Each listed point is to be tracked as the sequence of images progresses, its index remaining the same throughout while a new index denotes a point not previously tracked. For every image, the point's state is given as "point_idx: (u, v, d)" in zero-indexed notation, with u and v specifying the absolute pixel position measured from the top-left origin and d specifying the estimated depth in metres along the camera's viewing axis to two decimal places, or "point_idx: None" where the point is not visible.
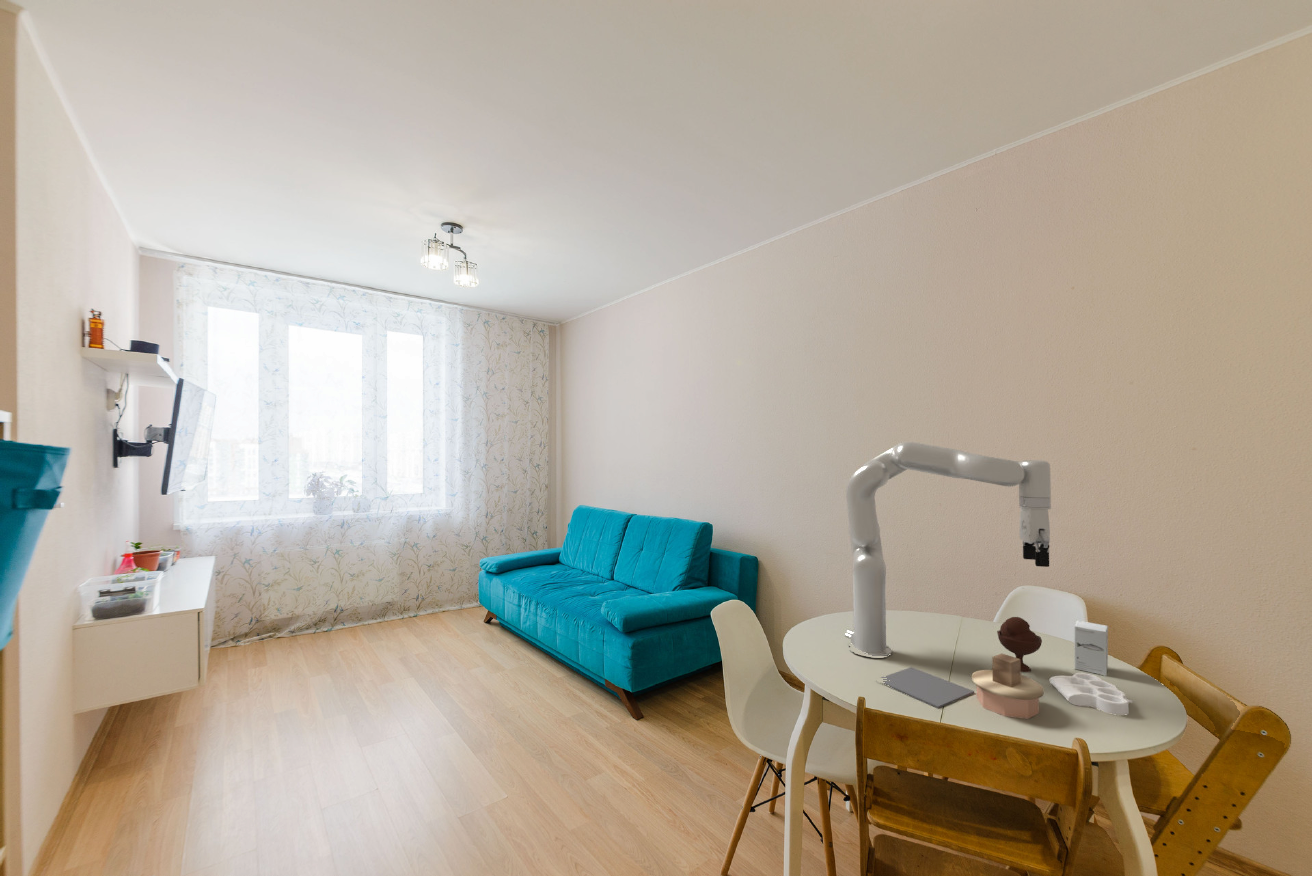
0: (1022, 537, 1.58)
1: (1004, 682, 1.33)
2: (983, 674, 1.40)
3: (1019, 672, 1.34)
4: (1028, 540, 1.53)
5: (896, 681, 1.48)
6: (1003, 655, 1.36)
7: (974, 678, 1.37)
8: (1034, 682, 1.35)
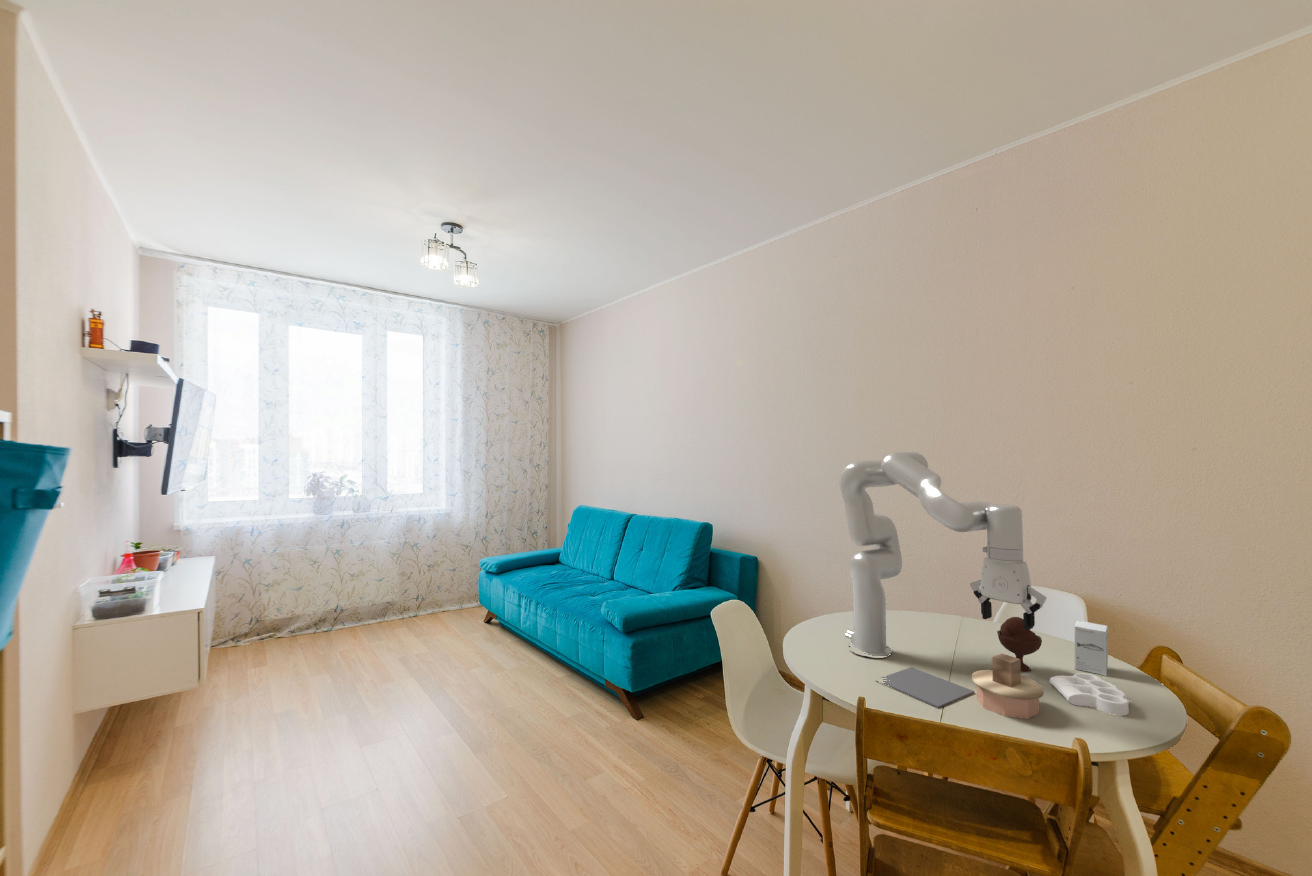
0: (994, 595, 1.34)
1: (1004, 682, 1.33)
2: (983, 674, 1.40)
3: (1019, 672, 1.34)
4: (1015, 600, 1.30)
5: (896, 681, 1.48)
6: (1003, 655, 1.36)
7: (974, 678, 1.37)
8: (1034, 682, 1.35)
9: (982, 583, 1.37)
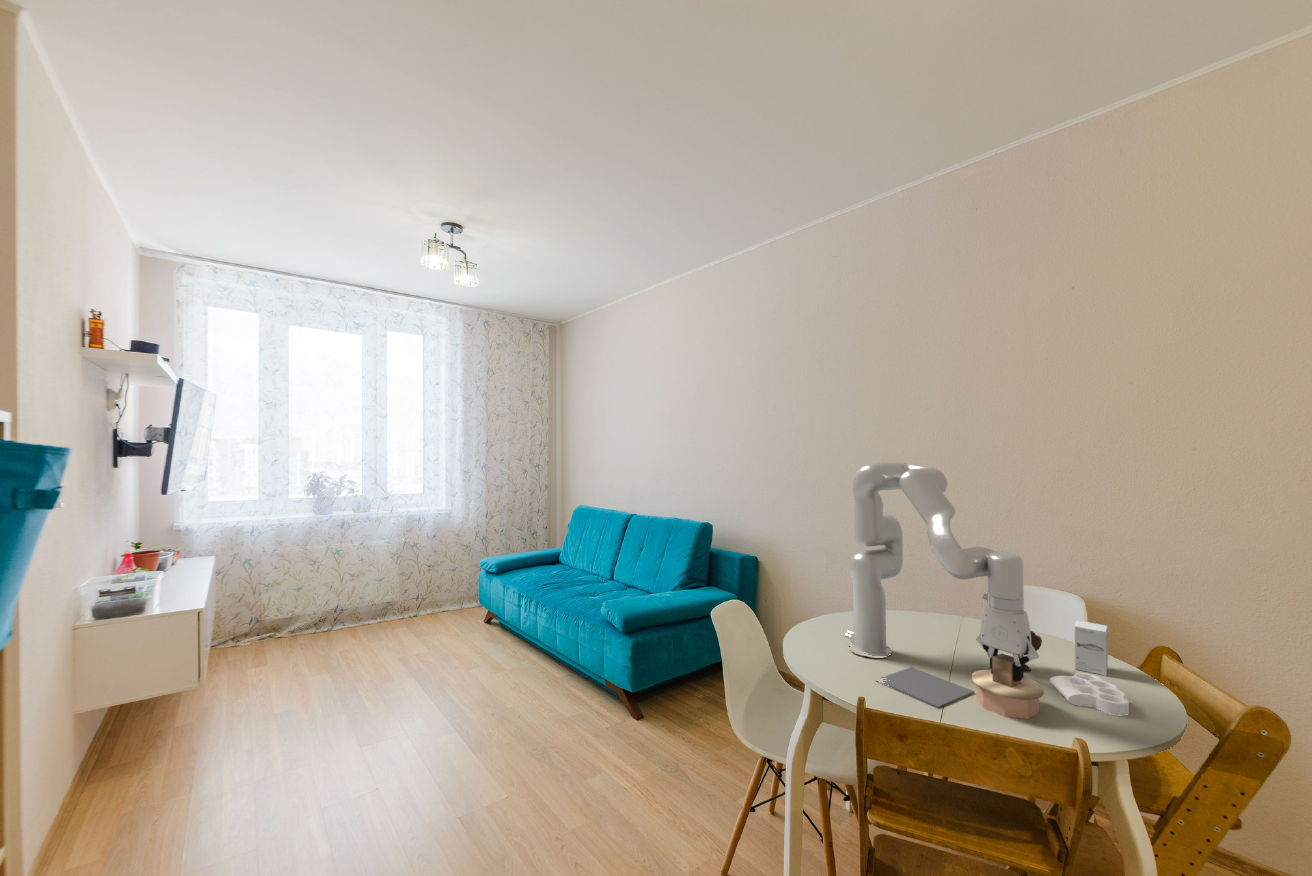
0: (994, 644, 1.35)
1: (1004, 682, 1.33)
2: (983, 674, 1.40)
3: None
4: (1015, 651, 1.30)
5: (896, 681, 1.48)
6: (1003, 655, 1.36)
7: (974, 678, 1.37)
8: (1034, 682, 1.35)
9: (982, 631, 1.37)
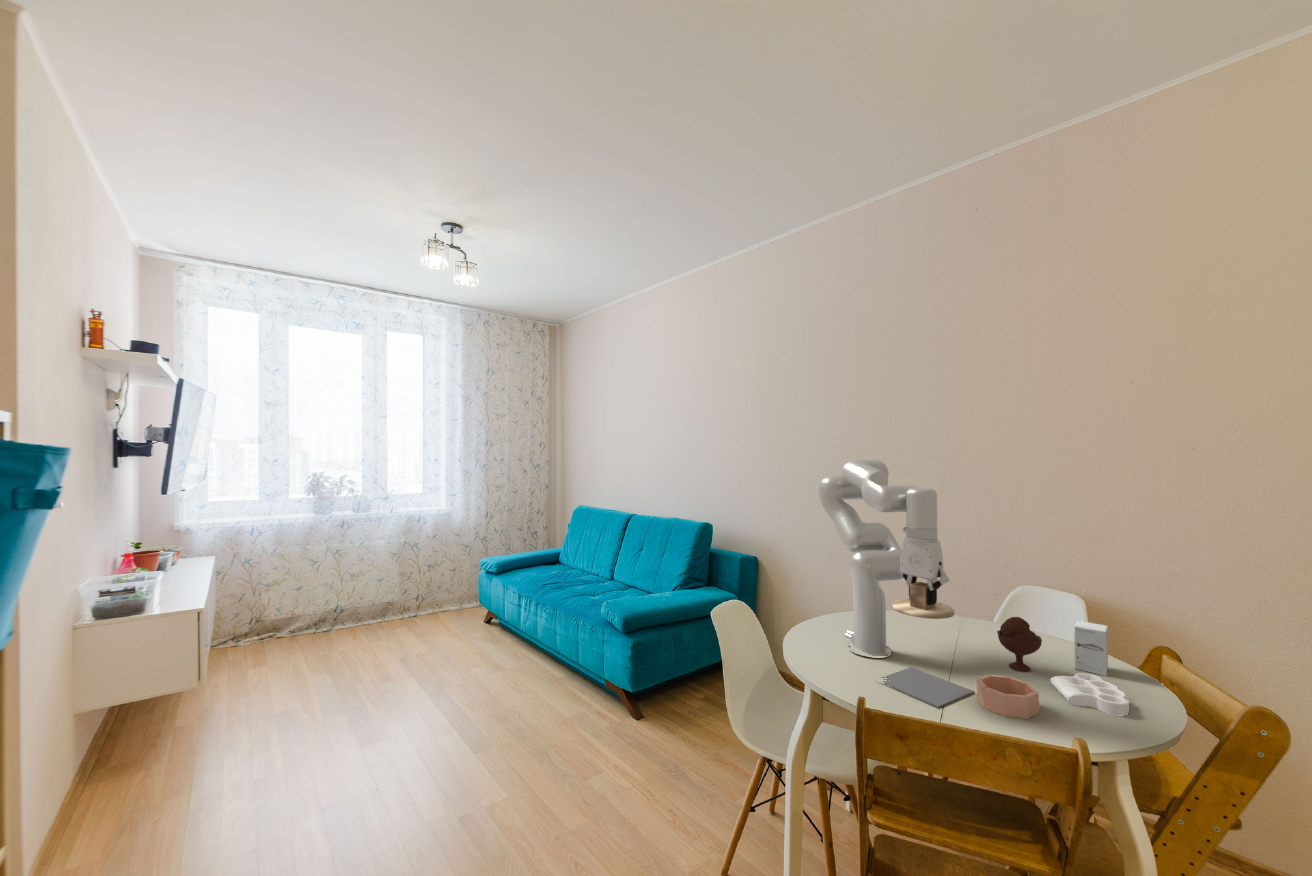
0: (911, 572, 1.45)
1: (919, 606, 1.44)
2: (903, 601, 1.50)
3: None
4: (928, 576, 1.41)
5: (896, 681, 1.48)
6: (920, 582, 1.47)
7: (894, 604, 1.48)
8: (947, 606, 1.45)
9: (901, 560, 1.48)
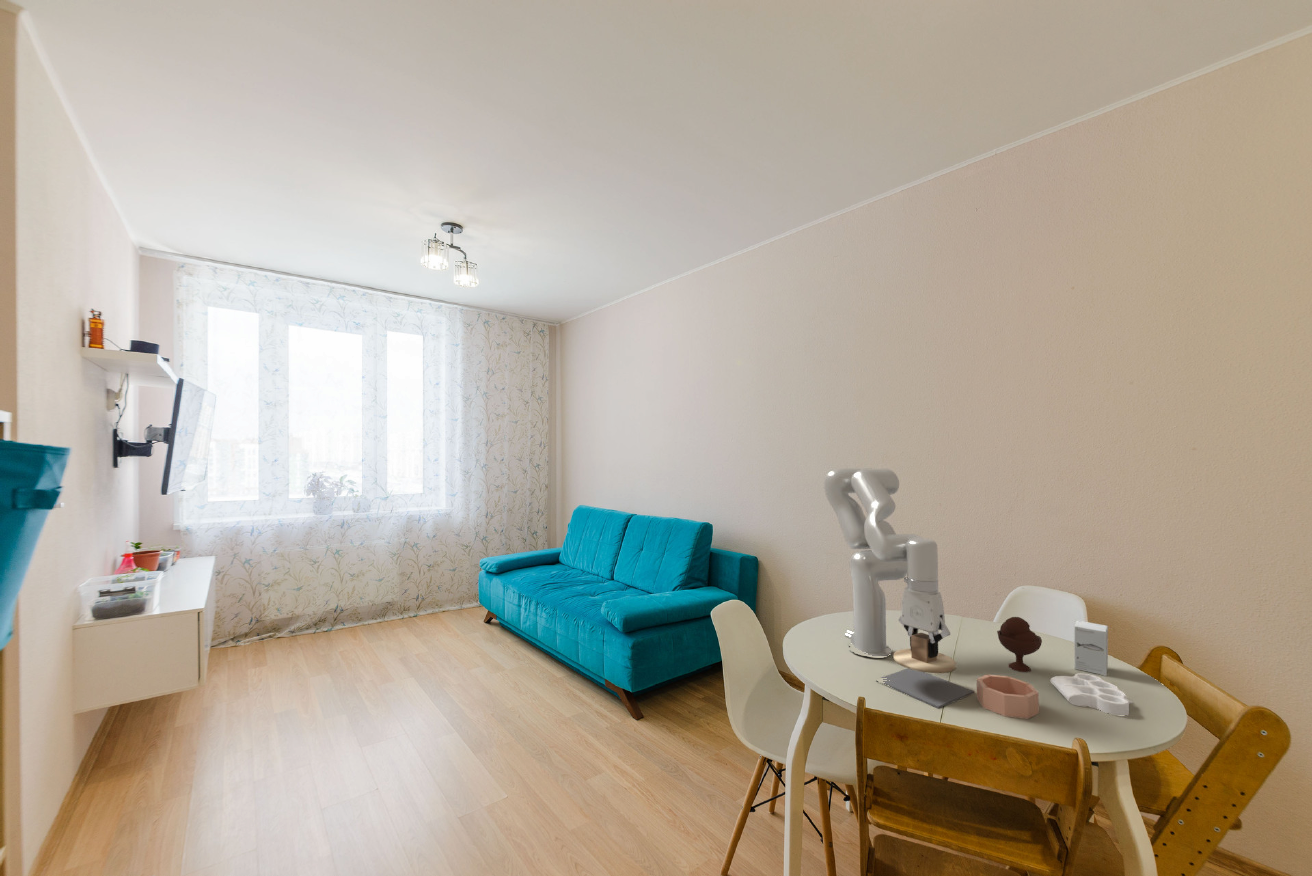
0: (912, 623, 1.45)
1: (921, 658, 1.43)
2: (904, 652, 1.50)
3: None
4: (929, 629, 1.41)
5: (896, 681, 1.48)
6: (921, 634, 1.47)
7: (895, 655, 1.47)
8: (949, 658, 1.45)
9: (902, 611, 1.48)
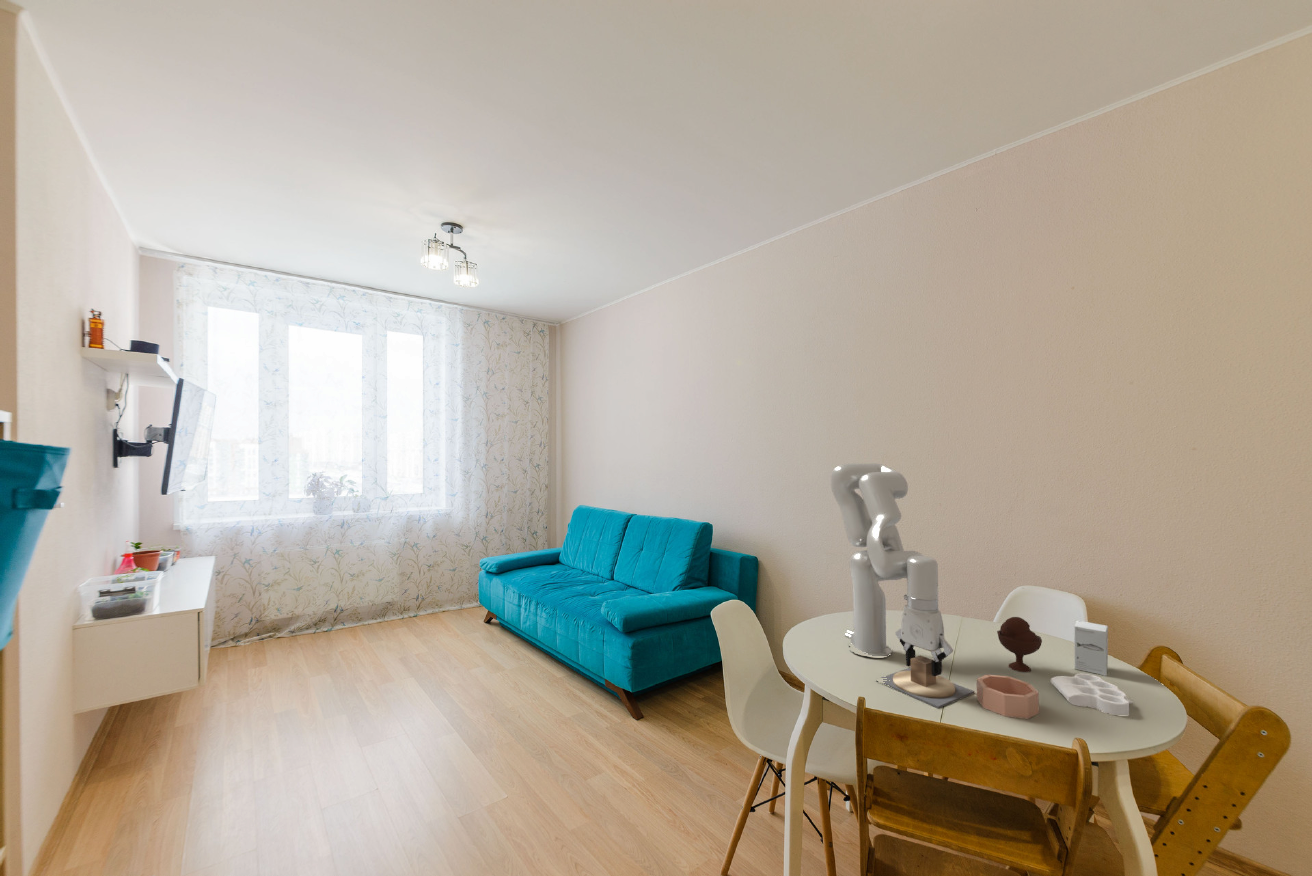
0: (912, 641, 1.45)
1: (920, 682, 1.44)
2: (904, 674, 1.50)
3: None
4: (928, 647, 1.41)
5: None
6: (921, 657, 1.47)
7: (894, 678, 1.48)
8: (948, 682, 1.45)
9: (902, 629, 1.48)
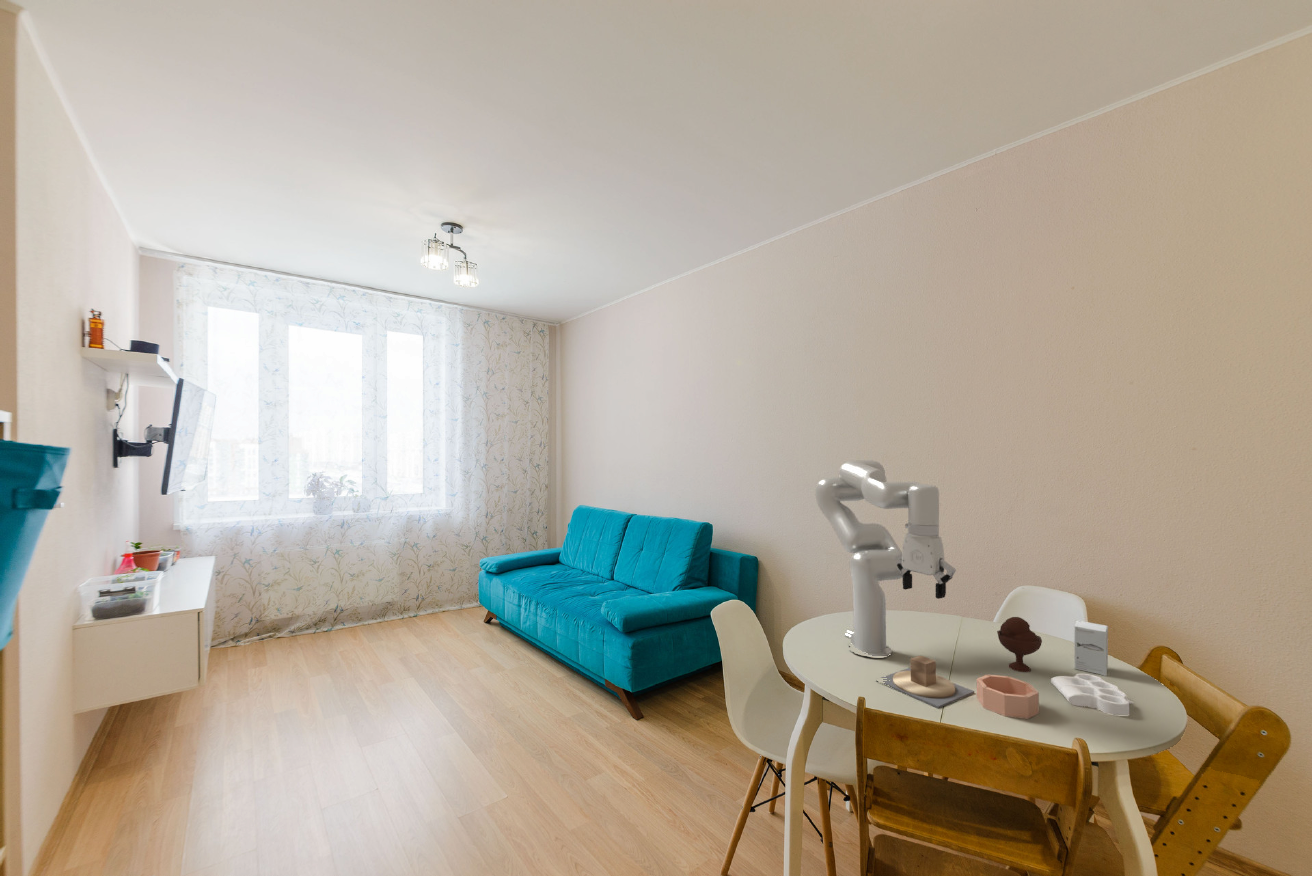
0: (912, 568, 1.47)
1: (920, 682, 1.44)
2: (904, 674, 1.50)
3: (934, 673, 1.44)
4: (928, 572, 1.43)
5: None
6: (921, 657, 1.47)
7: (894, 678, 1.48)
8: (948, 682, 1.45)
9: (903, 556, 1.49)
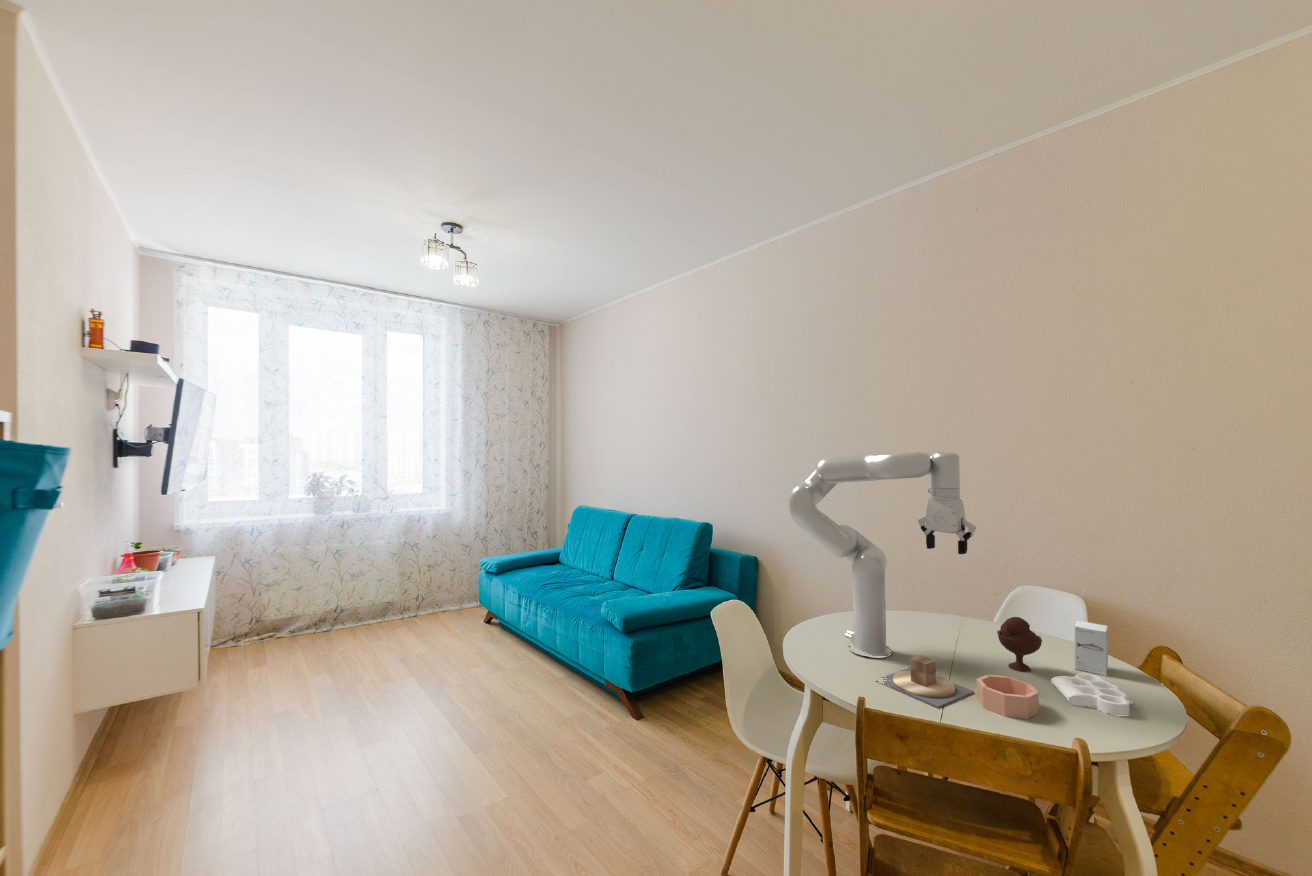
0: (936, 528, 1.61)
1: (920, 682, 1.44)
2: (904, 674, 1.50)
3: (934, 673, 1.44)
4: (951, 530, 1.57)
5: None
6: (921, 657, 1.47)
7: (894, 678, 1.48)
8: (948, 682, 1.45)
9: (926, 518, 1.64)
